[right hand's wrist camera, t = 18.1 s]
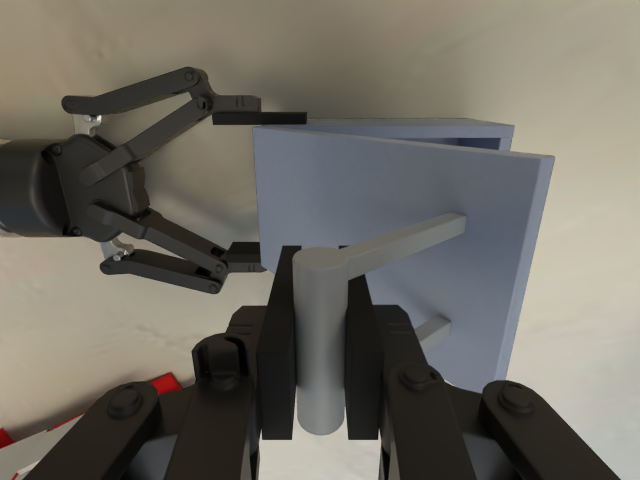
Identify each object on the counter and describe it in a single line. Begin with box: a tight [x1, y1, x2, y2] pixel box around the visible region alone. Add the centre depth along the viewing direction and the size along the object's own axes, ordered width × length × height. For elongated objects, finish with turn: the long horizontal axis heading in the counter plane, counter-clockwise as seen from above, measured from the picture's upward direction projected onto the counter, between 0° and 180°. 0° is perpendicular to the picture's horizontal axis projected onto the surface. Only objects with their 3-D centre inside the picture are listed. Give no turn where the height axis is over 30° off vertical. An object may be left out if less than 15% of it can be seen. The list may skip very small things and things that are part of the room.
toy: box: [0, 373, 182, 480], centre depth 41 cm, size 12×13×30 cm
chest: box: [262, 118, 514, 151], centre depth 31 cm, size 17×10×9 cm, turn 90°
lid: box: [252, 126, 555, 435], centre depth 17 cm, size 18×10×9 cm
